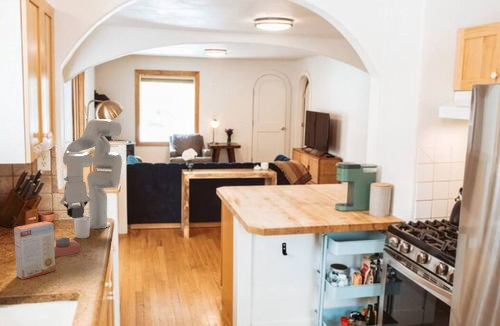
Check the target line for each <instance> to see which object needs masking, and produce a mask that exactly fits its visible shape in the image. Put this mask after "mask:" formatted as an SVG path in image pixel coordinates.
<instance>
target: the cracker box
mask: <svg viewBox="0 0 500 326" xmlns="http://www.w3.org/2000/svg"><path fill="white" fill-rule="evenodd" d="M13 232H14V234H13V235H14V252H15V272H16V274H15V275H16V277H17V278H19V279H21V280H27V279H30V278H34V277H37V276H38V277H39V276H41V275H44V274H48V273H51V272H56V259H55V258H56V257H55V252H54V243H55V233H54V223H53V222H51V221H48V220H46V221H45V220H44V221H40V222H35V223H30V224H24V225H19V226H18V225H17V226H15V227H13Z"/></svg>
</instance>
